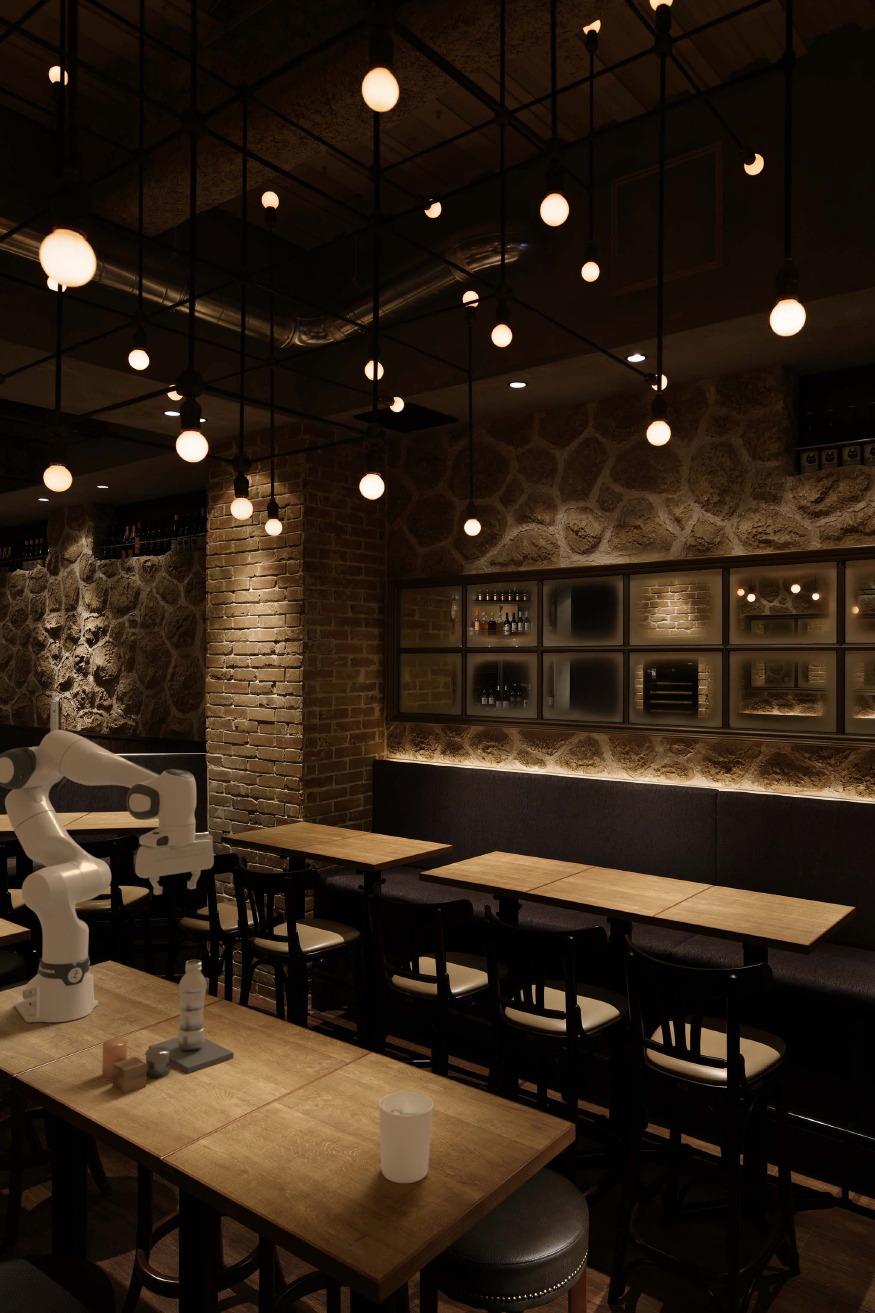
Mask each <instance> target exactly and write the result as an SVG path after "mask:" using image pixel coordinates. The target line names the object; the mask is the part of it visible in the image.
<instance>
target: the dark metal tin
mask: <svg viewBox="0 0 875 1313" xmlns="http://www.w3.org/2000/svg"><path fill="white" fill-rule="evenodd" d="M169 1057H170V1049H169V1048H167V1047H154V1048H150V1049H147V1050H146V1052H145V1063H147V1071H146V1079H147V1078H148V1079H150V1080H151V1079H152V1080H153V1079H154V1080H157V1079H163V1078H165V1077H167V1076H169V1074H170V1063H169Z"/></svg>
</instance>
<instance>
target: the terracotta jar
mask: <svg viewBox="0 0 875 1313" xmlns="http://www.w3.org/2000/svg"><path fill="white" fill-rule="evenodd" d="M127 1048H128V1041H127V1039H124V1038H111V1039H107V1040H106V1041H104V1042H103V1044H102V1062H101V1065H102V1067H101V1078H102V1079H103V1080H106V1081H113V1063H116V1062H120V1061H123V1060H126V1059H128V1058H127V1057H128V1056H127V1053H128V1052H127V1050H128V1049H127Z"/></svg>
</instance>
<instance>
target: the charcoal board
mask: <svg viewBox="0 0 875 1313" xmlns="http://www.w3.org/2000/svg"><path fill="white" fill-rule="evenodd" d="M154 1047H167V1048H169V1049H170V1057H169V1065H172V1066H174V1067H176V1068H177V1069H179V1070H181V1071H183V1072H185V1073H187V1074H190V1073H193V1072H197V1071H199V1070H201V1069H204V1068H208V1067H211V1066H214V1065H217V1064H219V1063H223V1062H225V1061H228V1060H231V1059H233V1058H234V1054H235V1053H234V1052H233V1051H231V1050H229V1049H227V1048H226V1047H223V1046H222V1045H219V1044H218V1043H216V1042H213V1041H211V1040H210V1039H208V1038H205V1041H204V1044H203V1045H202V1047H200V1048H198V1049H195V1050H183V1049H181V1048H180V1047H179V1046H178V1043H177V1037H174V1038H170V1039H167V1040H164V1041H160V1042H157V1043H155V1044H154V1043H153V1044H150V1045H148V1047H147V1048H148V1049H150V1048H154ZM148 1049H147V1050H148ZM216 1063H217V1064H216ZM213 1064H214V1065H213Z"/></svg>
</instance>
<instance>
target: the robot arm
mask: <svg viewBox="0 0 875 1313" xmlns="http://www.w3.org/2000/svg"><path fill="white" fill-rule="evenodd" d="M67 780H70V781H72V782H75V783H77V784H81V785H84V786H120V787H121V786H122V787H125V788H130V789H129V790H128V792H127V795H126V803H125V804H126V808H127V811H128V813H129V815H130V816H131V817H132V818H134V819H135V820H141V821H149V820H155V819H156V820H158V827H157V828H155V829H153V830H151V831H148V832H147V833H145V834H142V835H140V837H139V845H141V846H140V847H139V848H138V850H137V852H136V858H135V867H134V869H135V874H136V875H137V876H138V877H139V878H143V879H148V878H149V882H150V884H151V886H152V887H153V888H152V889H153V891H152V892H153V895H155V896H158V895H162V894H163V889H164V887H163V886H161V885H159V883H158V882H159V881H160V877H163V876H164V877H165V876H169V875H176V874H183V873H189V872H190V874H192V876H191V878H190V879H189V880H188V881H187V886H186V887H187V889H188V890H193V889H194V890H195V889H196V888H197V882H198V880H199V878H200V875H201V871H203V870H209V869H211V868H212V867H213V866H214V862H215V860H214V859H215V857H214V849H213V844H214V843H213V842H214V840H213V838H214V837H213V835H211V834H210V833H209V832H207V831H203V832H196V822H197V821H196V818H195V817H196V816H195V812H196V811H195V810H196V808H197V782H196V779H195V776H194V775H193V773H191V771H190V772H189V771H187V770H184V769H177V768H171V769H165V770H164V771H162V772H161V774H159V773H157V772H155V771H152V770H150V769H148V768H146V767H144V766H142V765H140V764H138V763H136V762H133V761H130V760H128V759H127V758H124V757H121V756H120V755H119V754H118V755H117V754H116V753H113V752H111V751H109V750H107V749H106V748H104V747H102V746H100V745H98V744H97V743H95V742H93V741H91V740H89V739H88V738H86V737H83V736H81V735H79V734H77V733H73V732H71V731H67V730H63V729H56V730H55V729H54V730H51V731H50V732H48V733H47V734H46V735H45V736H44V737H43V738H42V740H41V742H40V744H39V746H32V747H31V746H30V747H27V746H25V747H20V748H19V747H16V748H12V749H9V750H6V751H4V752H2V753H0V787H2V788H5V789H7V790H9V789H10V790H11V791H9V793H8V794H6V796H5V799H4V805H5V809H6V814H7V816H8V819H9V823H10V826H11V827H12V829H13V832H14V833H15V836H16V837H17V839H18V841H19V843H20V845H21V846H22V849H23V851H24V852H25V854H26V856H27V857H28V858H29V859H31V860H32V861H34V862H36V863H39V864H42V865H43V866H44V867H43V868H41V869H38V870H36V871H35V872H32V873H31V874H29V875H27V877H26V878H25V879H24V880H23V883H22V886H21V896H22V900H23V903H24V904H25V906H26V907H27V908H29V909H30V910H31V911H32V912H34V913H35V914H36V916H37V918H38V919H39V922H40V926H41V930H42V958H39V959H38V960H39V962H38V963H39V965H38V970H37V974H36V975H35V976H34V977H32V979H30V980H29V981H28V982H27V984H26V986H25V989H23V990H22V999H19V1000H17V1001H16V1002H15V1005H14V1007H15V1008H16V1010H17V1011H18V1012H19V1014H20V1016H22V1019H24V1021H25V1022H26V1023H62V1022H63V1023H64V1022H70V1021H75V1020H78V1019H81V1018H84V1017H86V1016H88V1015H90V1013H92V1012H93V1009H94V1008H95V1007H97V1006H99V1001H98V1000H97V999H95V993H94V989H95V988H94V975H93V974H92V973H90V972H89V971H90V964H91V961H90V956H89V939H90V938H89V933H90V932H89V931H90V930H89V926H88V924H87V923H86V922H85V921H83V920H82V919H81V918H80V919H79V917H78V916H77V911H76V904H78V903H81V902H82V903H83V902H85V901H90V900H92V899H94V898H96V897H99V895H100V896H101V894H104V893H105V892H106V891H107V890H108V889H109V887H110V886H111V882H112V872H111V868H110V866H109V865H108V864H107V863H106V862H105V861H104V860H103V859H100V858H97V857H95V856H93V855H92V854H90V853H88V852H87V851H86V850H85V849H83V848H82V847H81V846H80V845H79V844H78V843H77V842H75V840H74V839H73V838H72V837H71V835H69V833H68V831H67V830H66V828H65V826H64V825H63V823H62V821H61V819H60V818H59V816H58V813H57V812H56V811H55V808H54V807H53V805H52V803H51V801H50V798H49V795H50V794H49V793H50V792H51V793H54V792H57V791H58V790H59V789H60V788H61V787H62V785H63V784H64V783H66V781H67Z"/></svg>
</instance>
